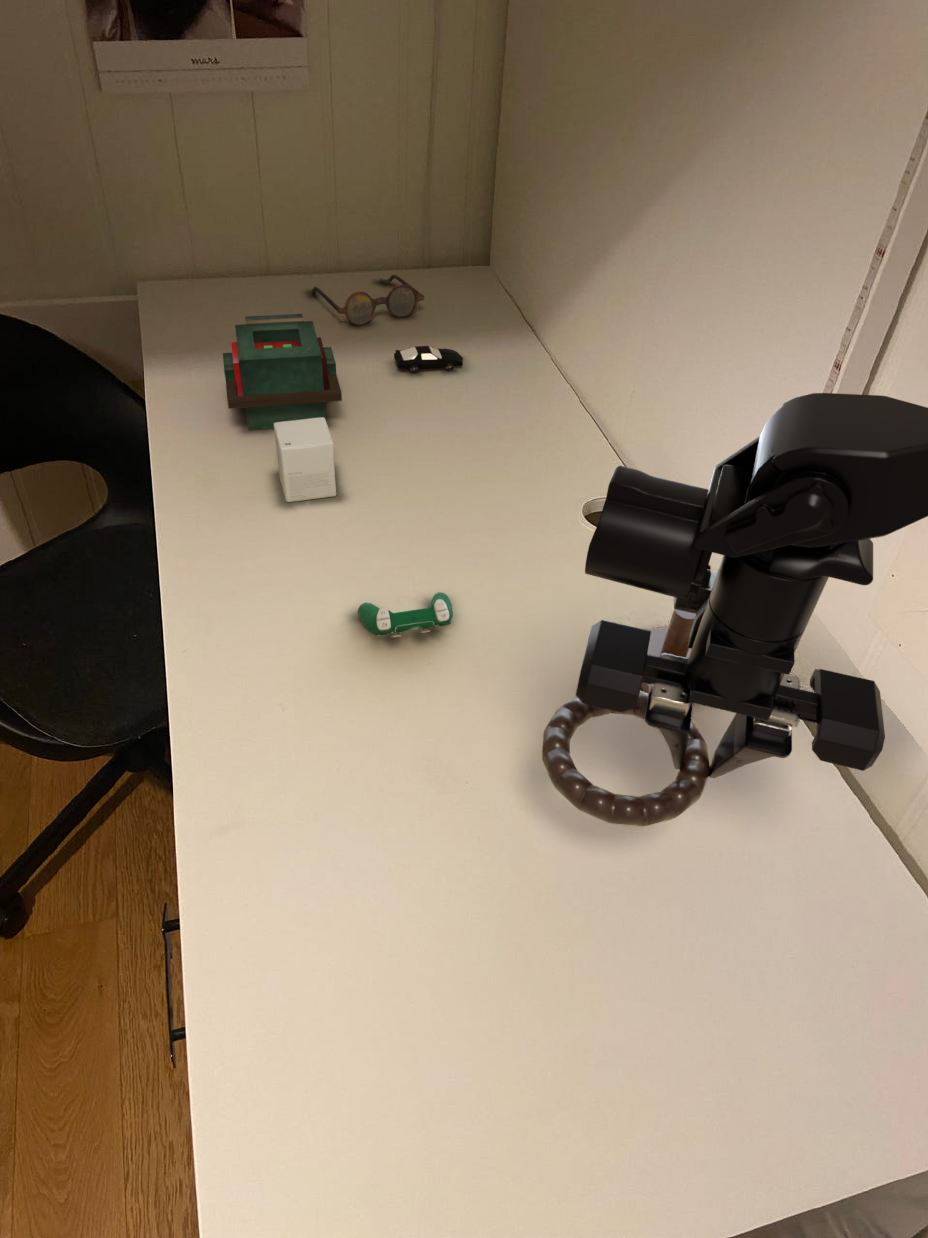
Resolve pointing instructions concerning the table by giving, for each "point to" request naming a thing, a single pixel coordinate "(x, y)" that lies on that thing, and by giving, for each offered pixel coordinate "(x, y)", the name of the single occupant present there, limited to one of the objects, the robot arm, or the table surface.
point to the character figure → (279, 371)
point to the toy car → (427, 359)
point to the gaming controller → (406, 617)
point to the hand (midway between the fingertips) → (695, 768)
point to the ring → (608, 803)
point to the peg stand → (671, 638)
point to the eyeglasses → (377, 302)
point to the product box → (305, 459)
